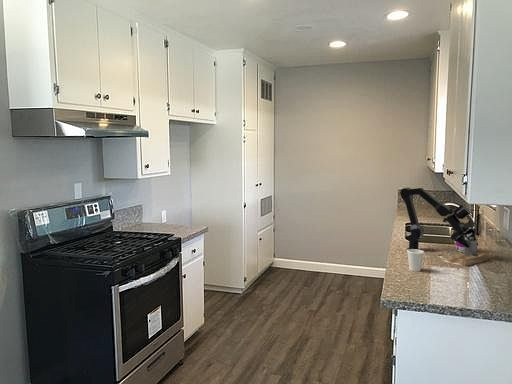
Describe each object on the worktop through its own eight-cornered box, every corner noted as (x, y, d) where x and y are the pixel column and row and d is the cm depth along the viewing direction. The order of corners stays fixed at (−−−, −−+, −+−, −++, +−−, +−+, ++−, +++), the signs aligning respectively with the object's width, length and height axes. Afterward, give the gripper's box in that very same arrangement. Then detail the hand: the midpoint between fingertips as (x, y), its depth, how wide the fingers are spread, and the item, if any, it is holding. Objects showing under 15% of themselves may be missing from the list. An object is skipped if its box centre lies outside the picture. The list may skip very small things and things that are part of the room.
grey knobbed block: (464, 258, 244) (465, 236, 243) (468, 257, 247) (469, 235, 245) (471, 260, 240) (473, 238, 239) (476, 258, 243) (477, 237, 242)
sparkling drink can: (466, 253, 259) (468, 228, 258) (453, 250, 266) (454, 226, 264) (472, 251, 265) (474, 227, 263) (459, 248, 271) (460, 225, 269)
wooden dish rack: (440, 261, 239) (441, 253, 239) (464, 255, 253) (464, 248, 252) (464, 267, 228) (465, 259, 227) (488, 261, 241) (488, 253, 241)
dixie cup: (403, 268, 226) (403, 249, 225) (415, 266, 229) (416, 248, 228) (414, 272, 218) (414, 253, 217) (427, 271, 221) (427, 252, 220)
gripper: (456, 217, 239) (475, 240, 231) (474, 214, 250) (492, 236, 242) (443, 228, 246) (460, 251, 238) (460, 225, 257) (478, 247, 249)
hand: (473, 246), depth 242 cm, fingers open, 9 cm apart
